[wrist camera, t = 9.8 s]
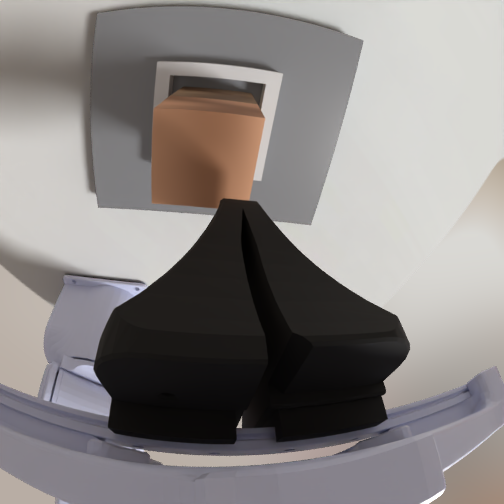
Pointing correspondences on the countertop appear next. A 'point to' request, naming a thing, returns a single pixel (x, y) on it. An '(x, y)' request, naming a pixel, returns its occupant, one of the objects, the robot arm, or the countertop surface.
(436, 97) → the countertop surface
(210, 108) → the copper rectangular block
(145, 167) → the collar board
